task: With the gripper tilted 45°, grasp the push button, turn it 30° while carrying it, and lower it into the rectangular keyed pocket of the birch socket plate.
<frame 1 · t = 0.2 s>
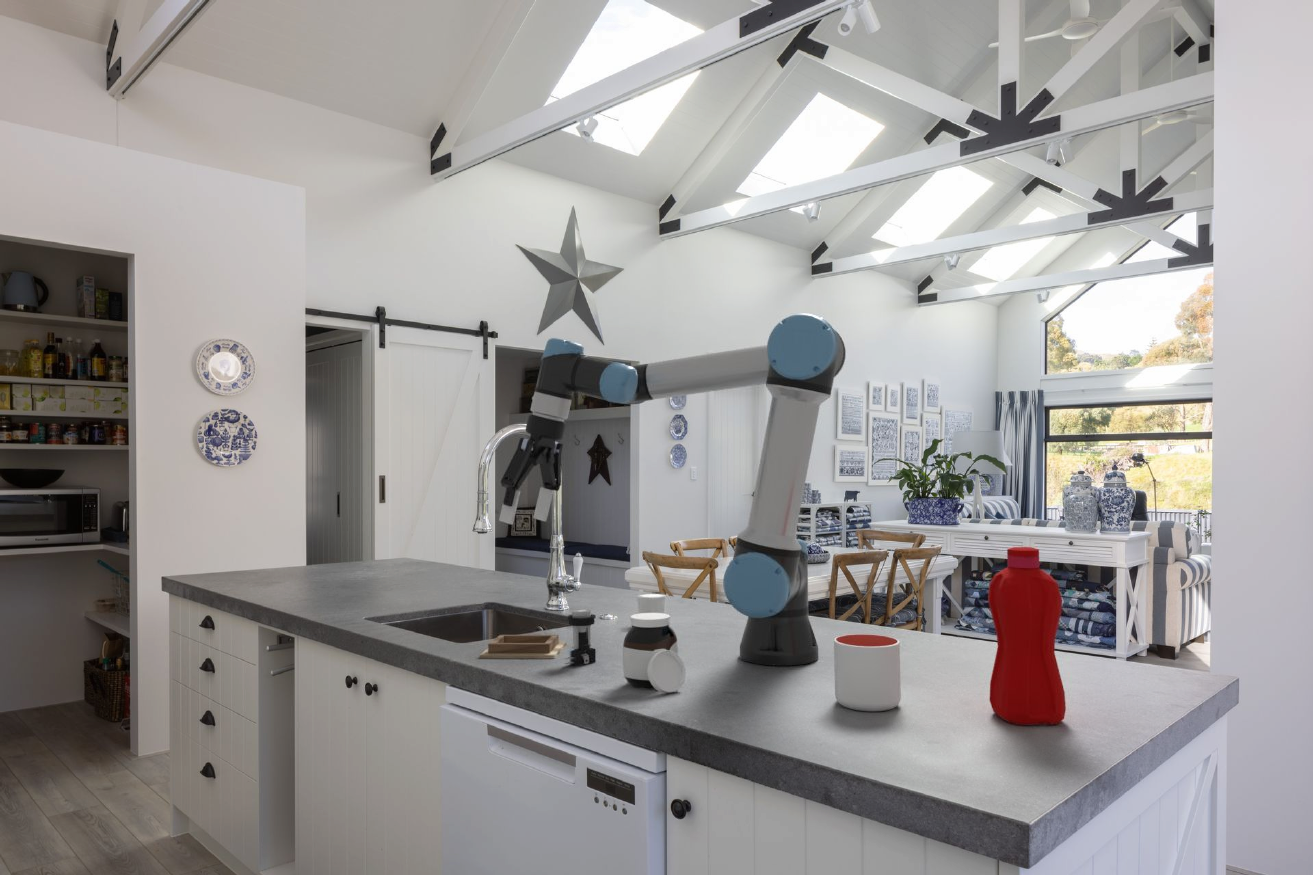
hand: (523, 521, 174), 27 cm above the worktop, tool pointing down, fingers open, 13 cm apart
spread jar: (657, 687, 150), on the worktop
socket plate: (524, 651, 179), on the worktop
cup: (867, 705, 137), on the worktop
white cylinder: (652, 625, 206), on the worktop
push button: (579, 664, 167), on the worktop
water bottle: (1024, 717, 129), on the worktop
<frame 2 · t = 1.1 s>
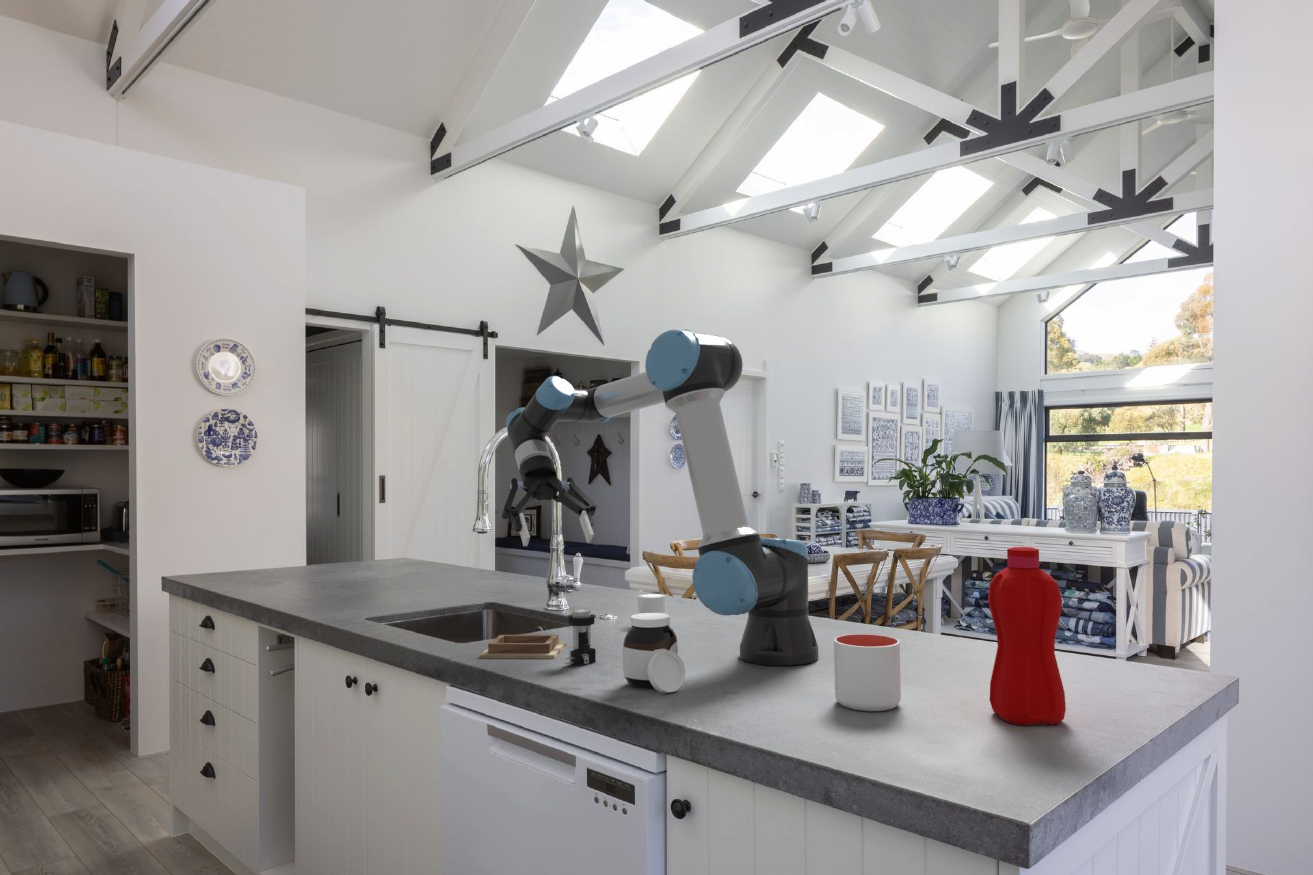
hand: (559, 540, 177), 23 cm above the worktop, tool tilted 45°, fingers open, 13 cm apart
nothing on the worktop moved.
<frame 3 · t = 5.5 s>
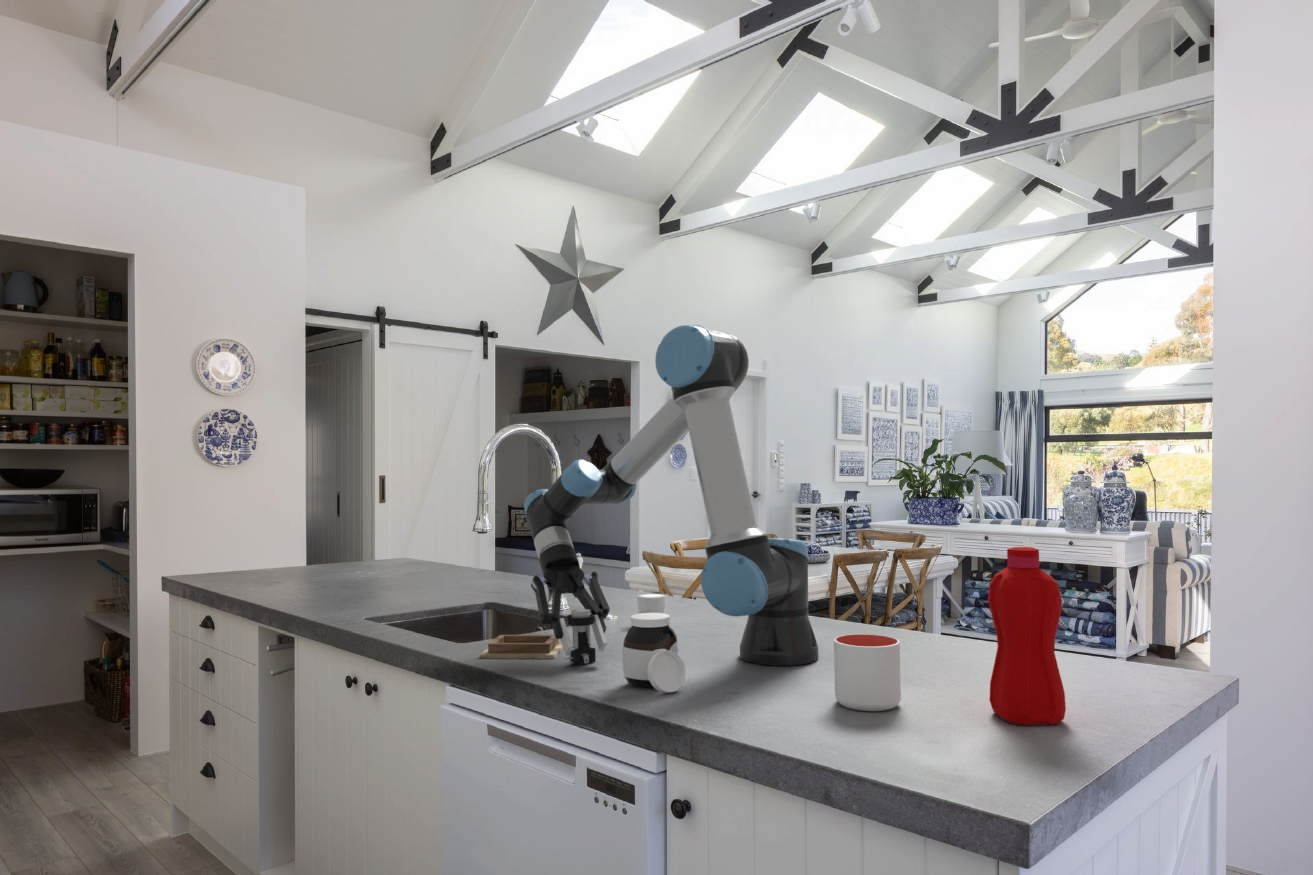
hand: (586, 649, 164), 3 cm above the worktop, tool tilted 45°, fingers open, 6 cm apart
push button: (579, 664, 167), on the worktop, touching gripper
everything else where it was.
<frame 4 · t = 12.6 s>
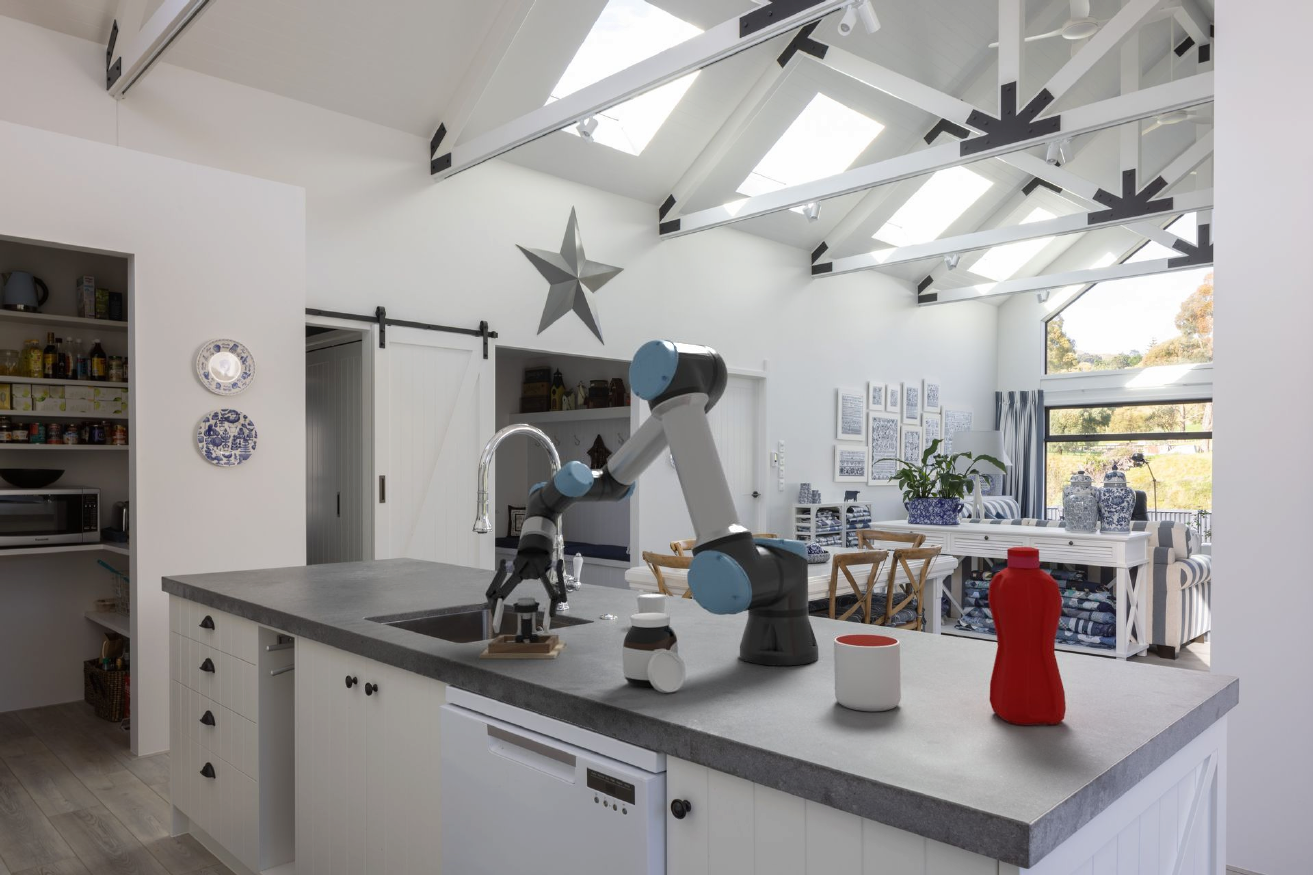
hand: (520, 629, 176), 5 cm above the worktop, tool tilted 45°, fingers open, 9 cm apart
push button: (523, 649, 179), resting on socket plate
everything else where it was.
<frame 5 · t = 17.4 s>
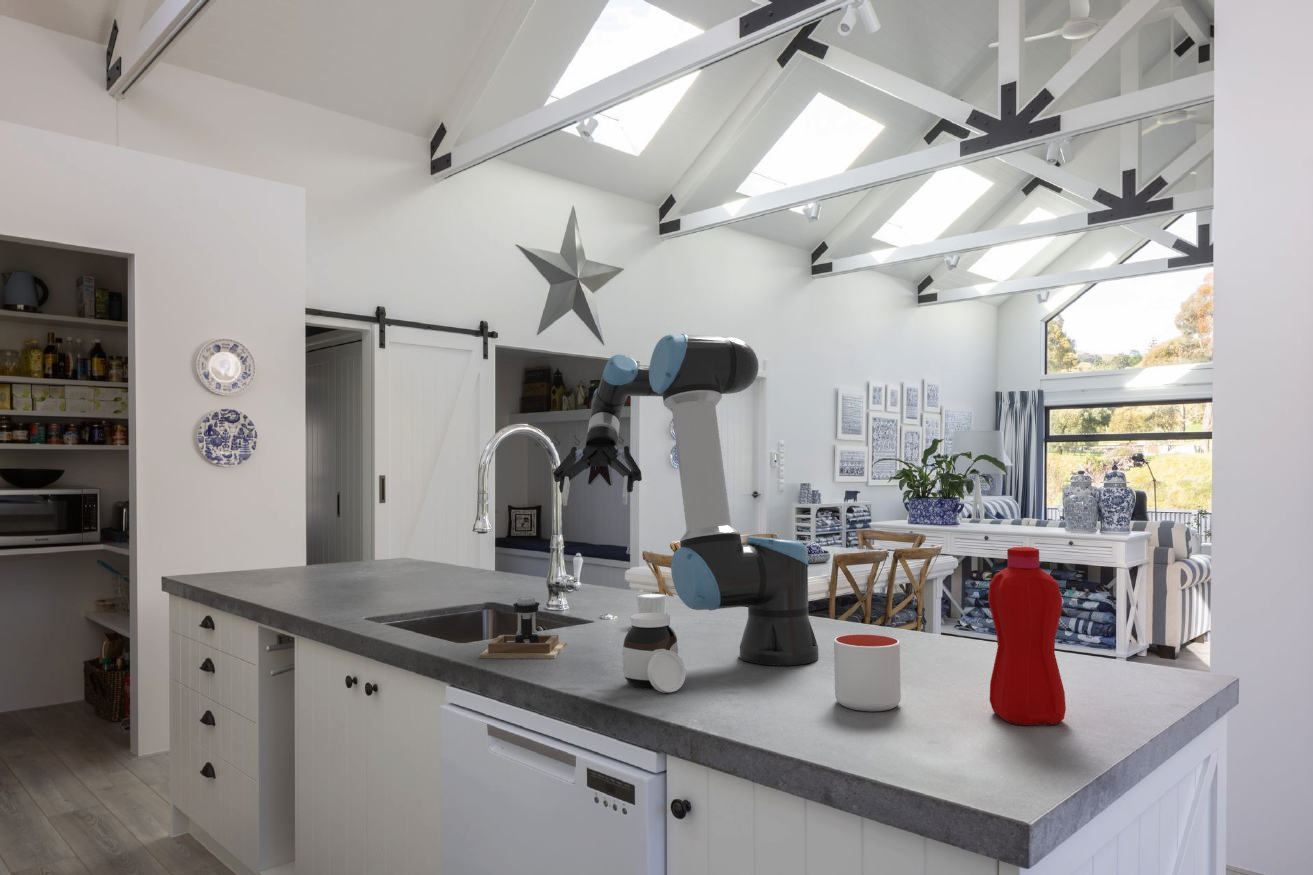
hand: (594, 501, 195), 30 cm above the worktop, tool tilted 45°, fingers open, 13 cm apart
nothing on the worktop moved.
at the end: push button 0.1 cm off-centre on the socket plate, point 0.4 cm above the socket plate's base; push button tilted 0°; the gripper is holding nothing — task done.
